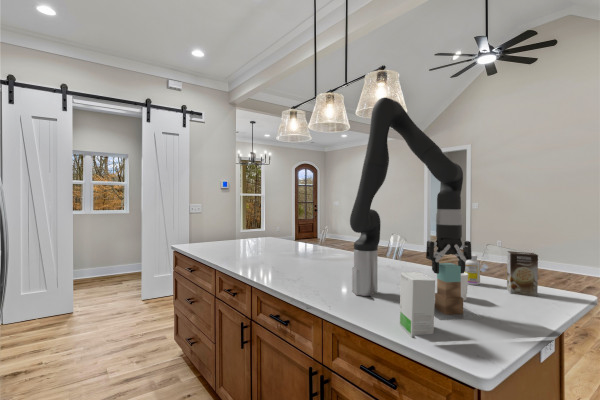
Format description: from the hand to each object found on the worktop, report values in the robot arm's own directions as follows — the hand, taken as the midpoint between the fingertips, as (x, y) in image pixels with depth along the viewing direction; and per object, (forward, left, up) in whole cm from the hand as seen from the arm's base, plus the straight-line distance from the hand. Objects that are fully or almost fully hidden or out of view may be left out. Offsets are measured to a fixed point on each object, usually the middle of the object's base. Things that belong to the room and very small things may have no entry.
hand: (448, 273), depth 98 cm
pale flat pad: (0, 0, -13) cm, 13 cm away
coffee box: (+43, +19, -13) cm, 49 cm away
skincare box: (-17, -12, -13) cm, 25 cm away
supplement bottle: (+32, +34, -13) cm, 49 cm away
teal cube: (0, 0, -2) cm, 2 cm away
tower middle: (0, 0, -7) cm, 7 cm away
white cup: (+11, +13, -13) cm, 22 cm away
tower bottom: (0, 0, -12) cm, 12 cm away
